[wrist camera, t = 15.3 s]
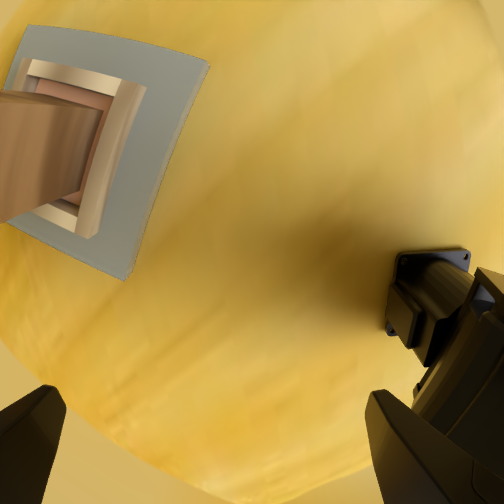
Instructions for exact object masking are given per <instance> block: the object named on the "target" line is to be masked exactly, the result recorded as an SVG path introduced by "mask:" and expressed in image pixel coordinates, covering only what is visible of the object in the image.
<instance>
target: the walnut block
mask: <svg viewBox="0 0 504 504" xmlns="http://www.w3.org/2000/svg"><path fill="white" fill-rule="evenodd" d="M103 112H104V111H103V110H99V109H96V108H93V107H89V106H86V105H83V104H79V103H76V102H72V101H69V100H65V99H62V98H58V97H54V96H50V95H47V94H41V93H32V92H22V91H11V90H0V224H1V223H3V222H5V221H7V220H9V219H12V218H14V217H16V216H18V215H21V214H23V213H25V212H28V211H30V210H32V209H35V208H37V207H39V206H42V205H44V204H47V203H49V202H52V201H54V200H57V199H59V198H62V197H64V196H67V195H70V194H72V193H75V192H78V191H80V187H81V183H82V179H83V175H84V172H85V168H86V164H87V161H88V158H89V154H90V151H91V148H92V144H93V141H94V138H95V135H96V132H97V129H98V126H99V123H100V120H101V117H102V115H103Z"/></svg>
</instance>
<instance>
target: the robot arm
mask: <svg viewBox="0 0 504 504" xmlns="http://www.w3.org/2000/svg"><path fill="white" fill-rule="evenodd" d="M465 254H466V255H465ZM464 255H465V257H464ZM463 257H464V258H463ZM403 258H405V261H404V262H402V263H401V260H402V259H403ZM470 258H471V253H470V252H469V251H468V250H466V249H451V250H433V251H415V252H401V253H399V254H398V255H397V256H396V259H395V268H394V275H393V282H392V283H391V285H390V288H389V295H388V302H387V308H386V314H385V316H386V318H387V321H386V326H385V331H386V333H387V335H388V336H399V338H400V339H401V341H402V342H403V344H404V346H405V347H406V348H407V349H413V351H414V352H415V354H416V355H417V357H418V359H419V360H420V362H421V363H422V365H423V366H424V367H429V368H428V370H427V371H426V373H425V375H424V376H423V378H422V379H421V381H420V382H419V383H417V384H416V386H415V388H414V389H413V397H414V400H413V404H412V407H411V409H410V408H409V407H408V406H406V405H405V404H404V403H402V402H401V401H400V400H399V399H397V398H396V397H395V396H394V395H392V394H391V393H390V392H389V391H387V390H385V389H382V390H376V391H372V392H371V393H370V395H369V399H368V402H367V406H366V410H365V421H366V426H367V432H368V438H369V444H370V450H371V456H372V461H373V466H374V470H375V473H376V477H377V480H378V484H379V487H380V491H381V494H382V498H383V501H384V504H504V275H502V274H499V273H496V272H493V271H490V270H487V269H484V268H481V267H477V269H476V272H475V274H474V276H475V278H474V277H473V276H472V275H471V274H469V273H468V269H469V263H470ZM392 328H394V329H393V330H391V329H392ZM390 330H391V331H390ZM65 414H66V404H65V402H64V401H63V399H62V397H61V395H60V393H59V391H58V390H57V388H56V387H55V386H51V385H42V386H41V387H39V388H37V389H36V390H34V391H32V392H31V393H29V394H27V395H26V396H24V397H23V398H21V399H19V400H18V401H16V402H14V403H13V404H11V405H9V406H8V407H6V408H5V409H3V410H2V411H0V504H41V503H42V499H43V496H44V492H45V489H46V485H47V482H48V478H49V475H50V472H51V468H52V465H53V462H54V459H55V456H56V453H57V449H58V445H59V440H60V436H61V431H62V427H63V423H64V419H65Z"/></svg>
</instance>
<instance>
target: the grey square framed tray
mask: <svg viewBox="0 0 504 504" xmlns="http://www.w3.org/2000/svg"><path fill="white" fill-rule="evenodd" d="M209 68H210V66H209V64H208V62H207V61H206V60H203V59H200V58H197V57H194V56H191V55H187V54H184V53H181V52H177V51H174V50H170V49H167V48H163V47H159V46H155V45H152V44H148V43H143V42H139V41H135V40H131V39H126V38H121V37H116V36H111V35H106V34H101V33H95V32H89V31H83V30H76V29H68V28H60V27H51V26H40V25H28V26H27V28H26V31H25V33H24V35H23V37H22V40H21V42H20V44H19V47H18V49H17V52H16V54H15V57H14V59H13V62H12V65H11V67H10V70H9V73H8V76H7V79H6V82H5V85H4V88H3V90H11V91H22V92H32V93H41V94H47V95H50V96H54V97H58V98H62V99H65V100H69V101H72V102H76V103H79V104H83V105H86V106H89V107H93V108H96V109H99V110H103V111H104V112H103V115H102V117H101V120H100V123H99V126H98V129H97V132H96V135H95V138H94V141H93V144H92V148H91V151H90V154H89V158H88V161H87V164H86V168H85V172H84V175H83V179H82V183H81V187H80V191H78V192H75V193H72V194H70V195H67V196H64V197H62V198H59V199H57V200H54V201H52V202H49V203H47V204H44V205H42V206H39V207H37V208H35V209H32V210H30V211H28V212H25V213H23V214H21V215H18V216H16V217H14V218H12V219H9V220H7V221H5V222H7V223H8V224H10V225H12V226H14V227H16V228H17V229H19V230H21V231H23V232H25V233H27V234H29V235H30V236H32V237H34V238H36V239H38V240H40V241H42V242H44V243H46V244H47V245H49V246H51V247H53V248H55V249H57V250H59V251H61V252H63V253H65V254H67V255H69V256H71V257H73V258H75V259H77V260H79V261H81V262H83V263H86V264H88V265H90V266H92V267H94V268H96V269H98V270H100V271H102V272H104V273H107V274H109V275H111V276H113V277H115V278H118V279H120V280H122V281H125V280H126V279H127V278H128V277H129V275H130V274H131V273H132V271H133V268H134V264H135V261H136V257H137V254H138V251H139V247H140V244H141V241H142V238H143V234H144V231H145V228H146V225H147V222H148V219H149V216H150V213H151V210H152V207H153V204H154V201H155V198H156V195H157V192H158V190H159V187H160V184H161V181H162V179H163V176H164V173H165V170H166V168H167V165H168V163H169V160H170V157H171V155H172V152H173V150H174V147H175V145H176V142H177V140H178V137H179V135H180V132H181V130H182V128H183V125H184V123H185V120H186V118H187V116H188V113H189V111H190V109H191V107H192V104H193V102H194V100H195V98H196V95H197V93H198V91H199V89H200V87H201V85H202V82H203V80H204V78H205V76H206V74H207V72H208V70H209Z"/></svg>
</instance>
